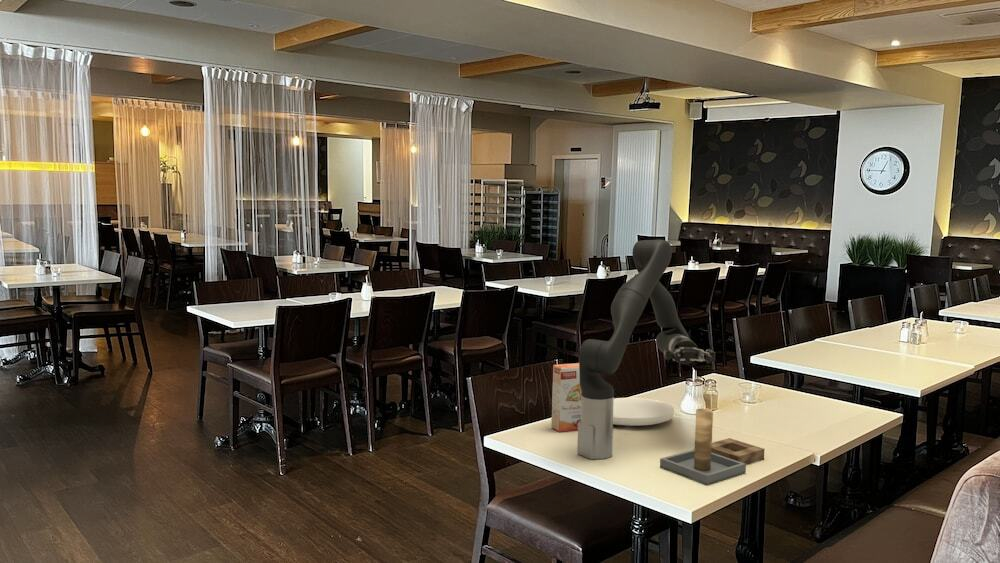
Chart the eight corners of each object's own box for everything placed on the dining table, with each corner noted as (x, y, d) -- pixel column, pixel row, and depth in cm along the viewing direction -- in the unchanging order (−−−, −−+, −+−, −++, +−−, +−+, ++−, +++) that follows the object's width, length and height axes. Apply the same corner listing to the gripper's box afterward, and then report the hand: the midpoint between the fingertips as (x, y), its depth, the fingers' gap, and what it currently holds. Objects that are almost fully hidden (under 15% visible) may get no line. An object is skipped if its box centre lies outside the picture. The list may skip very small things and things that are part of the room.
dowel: (703, 472, 199) (705, 414, 198) (690, 467, 203) (692, 410, 201) (714, 468, 202) (716, 411, 200) (701, 464, 205) (703, 407, 204)
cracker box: (559, 433, 235) (560, 367, 233) (550, 427, 240) (551, 364, 238) (598, 428, 240) (599, 364, 238) (588, 423, 246) (589, 361, 244)
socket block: (737, 467, 205) (738, 456, 205) (702, 455, 215) (703, 445, 214) (764, 459, 212) (764, 448, 212) (728, 447, 222) (729, 438, 221)
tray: (707, 485, 191) (707, 475, 191) (659, 467, 204) (660, 458, 204) (745, 472, 200) (745, 463, 200) (698, 456, 213) (698, 448, 213)
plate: (590, 415, 239) (588, 395, 265) (592, 434, 239) (590, 413, 266) (678, 409, 236) (668, 389, 262) (680, 429, 236) (669, 407, 263)
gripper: (660, 336, 229) (669, 346, 213) (706, 337, 228) (720, 347, 212) (659, 360, 229) (668, 371, 213) (705, 361, 229) (719, 372, 213)
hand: (694, 359), depth 213 cm, fingers open, 8 cm apart
